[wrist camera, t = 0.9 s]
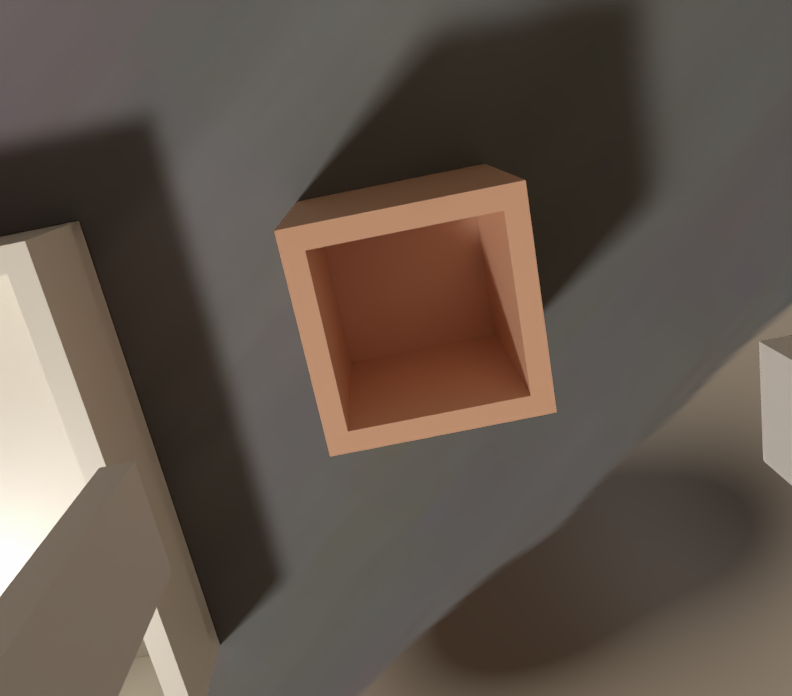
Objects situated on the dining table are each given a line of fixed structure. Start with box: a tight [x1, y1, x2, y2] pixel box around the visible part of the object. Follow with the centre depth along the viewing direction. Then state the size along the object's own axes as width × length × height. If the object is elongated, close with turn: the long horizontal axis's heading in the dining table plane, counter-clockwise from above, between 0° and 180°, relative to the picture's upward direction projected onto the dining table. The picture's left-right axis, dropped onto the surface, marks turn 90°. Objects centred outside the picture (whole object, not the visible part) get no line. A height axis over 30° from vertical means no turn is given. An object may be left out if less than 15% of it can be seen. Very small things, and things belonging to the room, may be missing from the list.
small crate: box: [274, 164, 557, 457], centre depth 27 cm, size 8×8×8 cm
